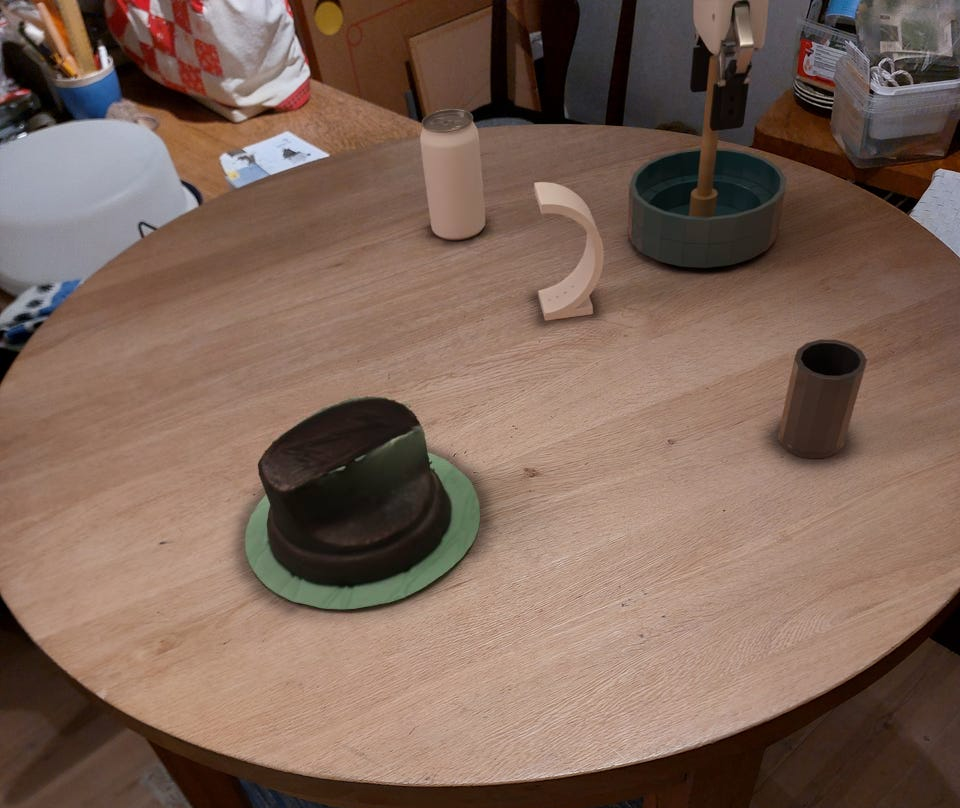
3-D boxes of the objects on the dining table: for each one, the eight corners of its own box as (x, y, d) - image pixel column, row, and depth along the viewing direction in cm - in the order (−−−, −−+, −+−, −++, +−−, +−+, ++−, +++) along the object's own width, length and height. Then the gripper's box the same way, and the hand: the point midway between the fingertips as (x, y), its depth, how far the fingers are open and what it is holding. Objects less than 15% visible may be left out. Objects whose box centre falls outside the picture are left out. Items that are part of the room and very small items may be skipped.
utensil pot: (832, 415, 80) (853, 335, 74) (852, 455, 76) (876, 375, 70) (771, 422, 80) (787, 342, 74) (787, 462, 76) (806, 382, 70)
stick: (710, 221, 101) (729, 50, 88) (715, 234, 99) (736, 60, 86) (685, 224, 101) (701, 53, 88) (690, 236, 99) (707, 64, 86)
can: (468, 246, 104) (457, 136, 95) (421, 236, 106) (406, 128, 97) (495, 220, 107) (487, 111, 98) (449, 211, 110) (437, 104, 100)
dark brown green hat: (365, 405, 85) (535, 489, 76) (263, 574, 85) (421, 677, 76) (275, 318, 71) (469, 408, 63) (153, 519, 71) (331, 636, 63)
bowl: (756, 194, 106) (764, 140, 101) (793, 265, 95) (804, 209, 91) (618, 210, 106) (619, 157, 101) (640, 282, 96) (643, 227, 91)
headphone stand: (538, 297, 96) (533, 182, 87) (594, 289, 96) (596, 173, 87) (544, 320, 93) (540, 204, 84) (602, 313, 93) (605, 196, 84)
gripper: (811, -88, 72) (775, 141, 85) (757, -139, 82) (733, 71, 96) (716, -76, 72) (695, 150, 85) (675, -128, 83) (662, 80, 96)
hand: (715, 108), depth 90 cm, fingers open, 9 cm apart
